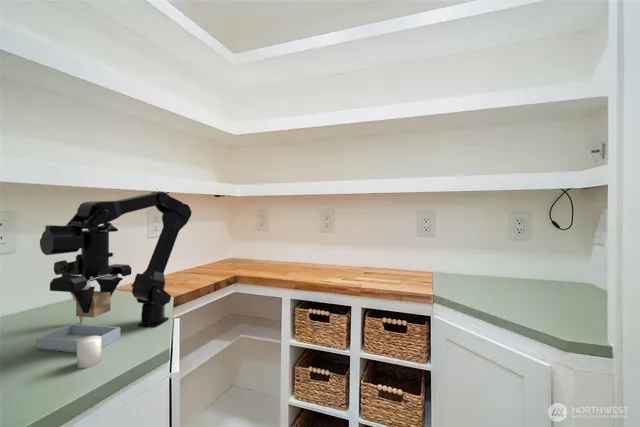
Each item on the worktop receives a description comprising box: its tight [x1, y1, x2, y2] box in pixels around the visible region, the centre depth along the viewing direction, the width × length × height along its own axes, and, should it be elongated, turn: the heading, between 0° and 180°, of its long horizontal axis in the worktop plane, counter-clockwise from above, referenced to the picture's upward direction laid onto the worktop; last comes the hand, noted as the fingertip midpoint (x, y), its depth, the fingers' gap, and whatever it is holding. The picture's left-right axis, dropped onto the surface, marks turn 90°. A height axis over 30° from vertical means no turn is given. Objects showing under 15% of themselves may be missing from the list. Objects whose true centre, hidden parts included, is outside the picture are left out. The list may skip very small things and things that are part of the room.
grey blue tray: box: [36, 323, 121, 354], centre depth 77 cm, size 9×15×3 cm, turn 84°
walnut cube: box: [75, 290, 111, 318], centre depth 76 cm, size 5×5×5 cm
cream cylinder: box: [76, 336, 102, 369], centre depth 68 cm, size 4×4×6 cm
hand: (95, 309), depth 76 cm, fingers closed on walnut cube, 5 cm apart
